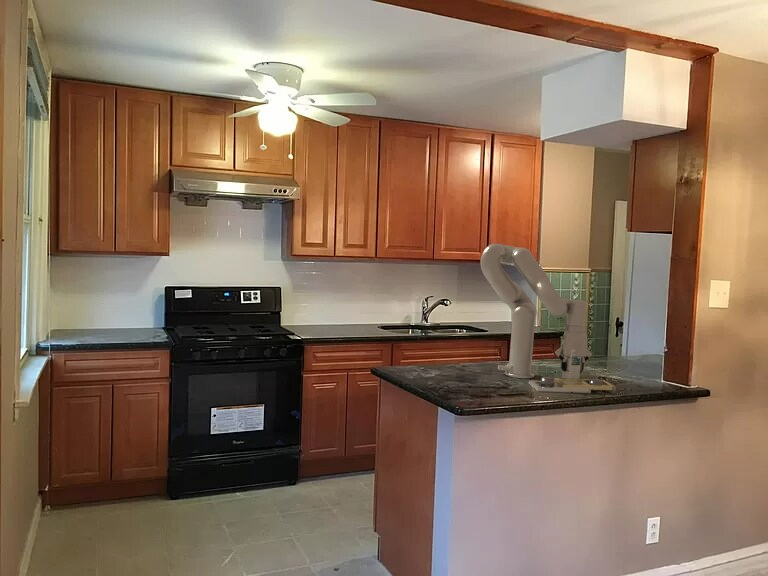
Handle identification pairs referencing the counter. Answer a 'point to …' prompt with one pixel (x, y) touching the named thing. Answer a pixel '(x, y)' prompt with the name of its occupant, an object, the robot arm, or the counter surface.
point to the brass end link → (585, 384)
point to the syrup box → (573, 366)
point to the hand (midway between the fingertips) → (572, 370)
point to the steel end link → (549, 384)
